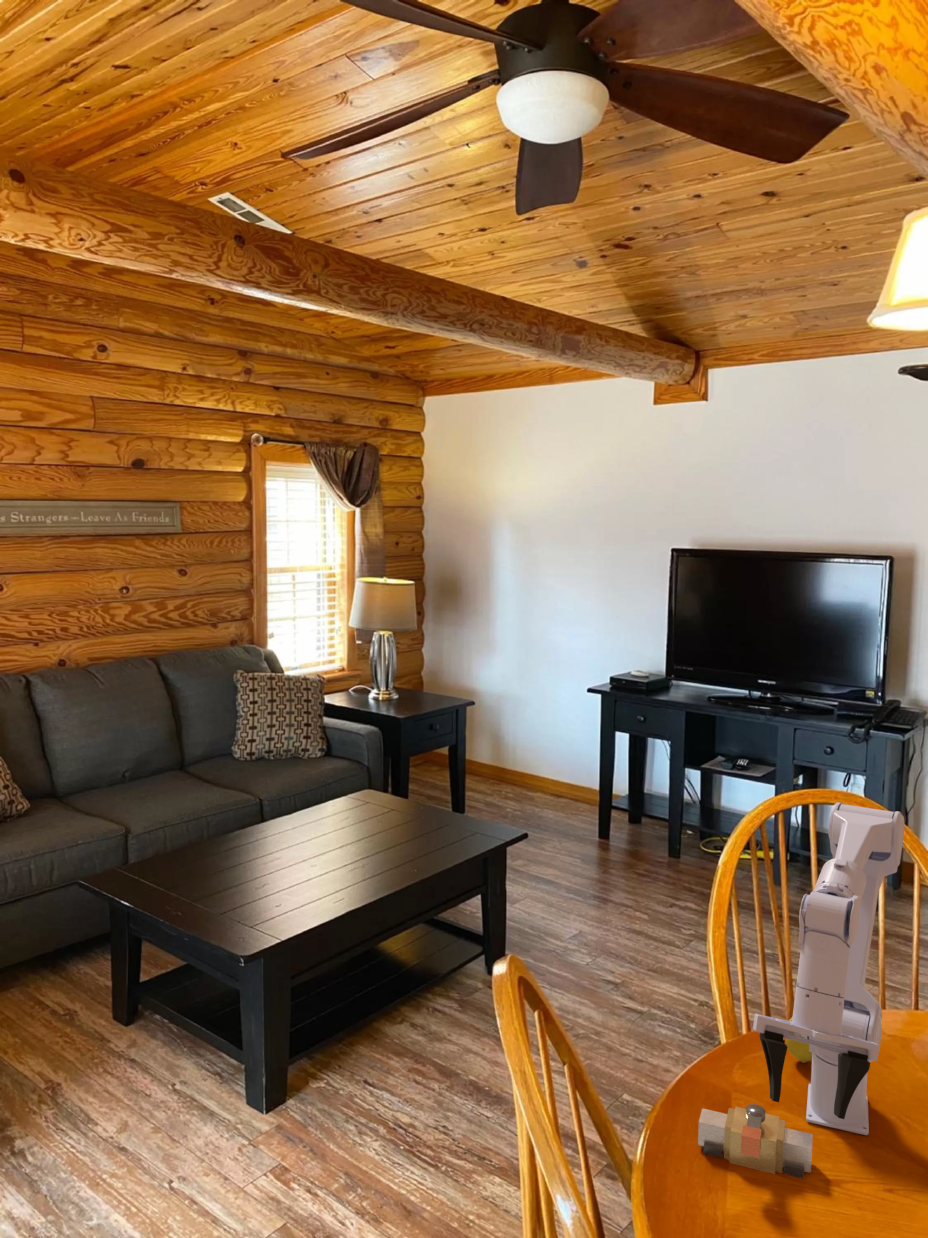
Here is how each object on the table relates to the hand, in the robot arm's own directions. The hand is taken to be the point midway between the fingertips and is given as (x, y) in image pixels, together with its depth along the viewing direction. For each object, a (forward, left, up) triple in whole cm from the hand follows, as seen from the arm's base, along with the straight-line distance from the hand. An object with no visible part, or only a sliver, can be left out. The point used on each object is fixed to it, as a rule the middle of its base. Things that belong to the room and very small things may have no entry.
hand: (806, 1108), depth 113 cm
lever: (-3, -6, -7) cm, 10 cm away
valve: (-6, -6, -12) cm, 14 cm away
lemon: (-32, -1, -12) cm, 34 cm away
